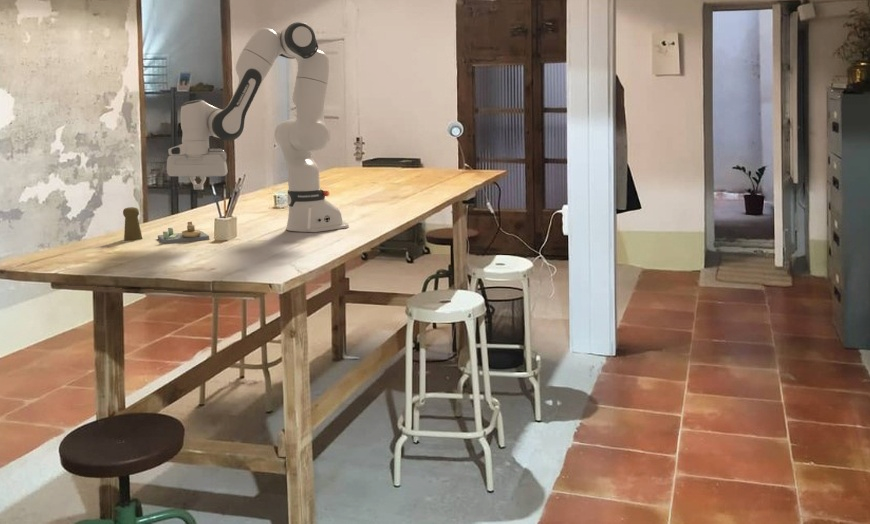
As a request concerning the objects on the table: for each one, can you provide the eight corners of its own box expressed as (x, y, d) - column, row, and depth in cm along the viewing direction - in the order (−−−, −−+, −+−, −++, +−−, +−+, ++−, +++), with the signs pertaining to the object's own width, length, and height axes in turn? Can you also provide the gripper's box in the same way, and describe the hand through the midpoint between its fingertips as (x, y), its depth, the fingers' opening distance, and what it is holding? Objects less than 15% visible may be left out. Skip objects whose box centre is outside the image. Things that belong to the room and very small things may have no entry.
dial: (201, 236, 301) (200, 225, 300) (182, 237, 299) (181, 226, 299) (199, 231, 311) (198, 221, 310) (181, 232, 309) (180, 222, 308)
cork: (136, 237, 311) (133, 205, 309) (146, 238, 307) (143, 207, 305) (120, 239, 307) (117, 207, 304) (130, 241, 303) (127, 209, 301)
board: (201, 234, 314) (200, 224, 313) (209, 239, 304) (208, 228, 303) (157, 238, 307) (157, 228, 306) (164, 243, 297) (163, 232, 297)
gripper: (228, 147, 304) (231, 188, 307) (170, 148, 306) (173, 188, 308) (223, 149, 298) (225, 190, 301) (163, 149, 299) (166, 190, 302)
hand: (198, 189), depth 305 cm, fingers closed
